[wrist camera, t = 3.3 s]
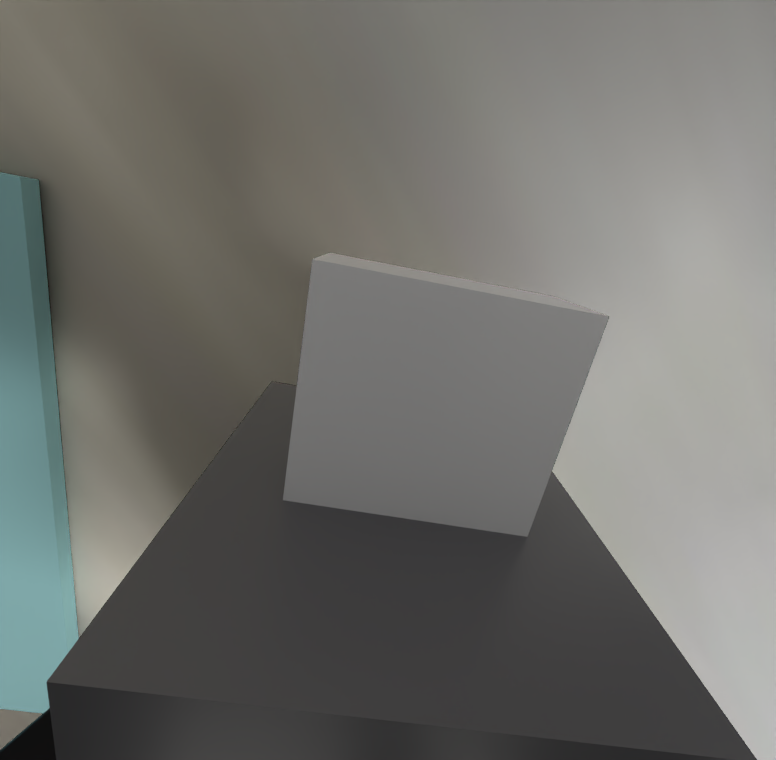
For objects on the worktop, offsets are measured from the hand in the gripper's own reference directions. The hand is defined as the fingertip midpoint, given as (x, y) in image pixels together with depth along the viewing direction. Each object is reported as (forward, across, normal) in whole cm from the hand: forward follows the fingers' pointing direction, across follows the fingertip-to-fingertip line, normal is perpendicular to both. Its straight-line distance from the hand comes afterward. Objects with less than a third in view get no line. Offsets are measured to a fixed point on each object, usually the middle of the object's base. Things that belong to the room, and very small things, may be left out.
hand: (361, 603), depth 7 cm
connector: (+1, 0, 0) cm, 1 cm away
